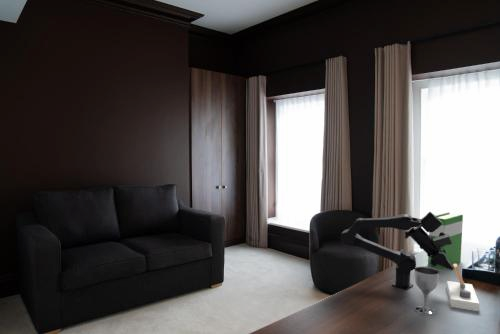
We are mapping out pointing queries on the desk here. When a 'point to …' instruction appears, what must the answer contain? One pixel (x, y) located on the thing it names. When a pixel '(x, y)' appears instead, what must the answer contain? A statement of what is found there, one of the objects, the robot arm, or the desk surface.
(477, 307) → the switch panel
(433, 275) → the wine glass
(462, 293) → the push button
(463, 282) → the paddle lever
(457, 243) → the cereal box
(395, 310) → the desk surface
